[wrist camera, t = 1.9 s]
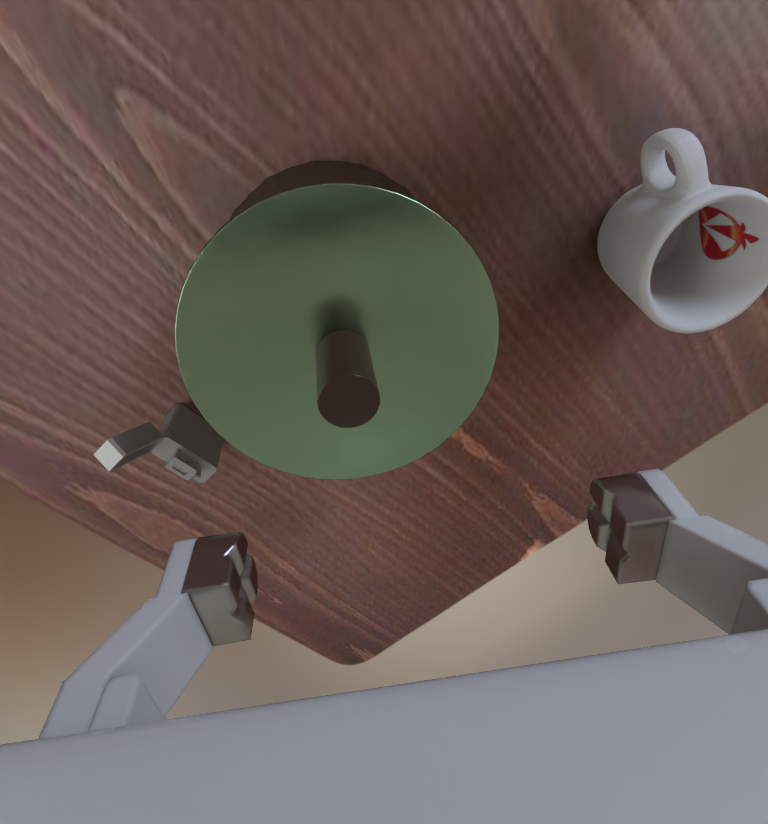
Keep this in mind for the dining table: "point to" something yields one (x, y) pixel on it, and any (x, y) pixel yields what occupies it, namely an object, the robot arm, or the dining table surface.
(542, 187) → the dining table surface
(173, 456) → the lighter
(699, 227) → the cup
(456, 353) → the tin lid
